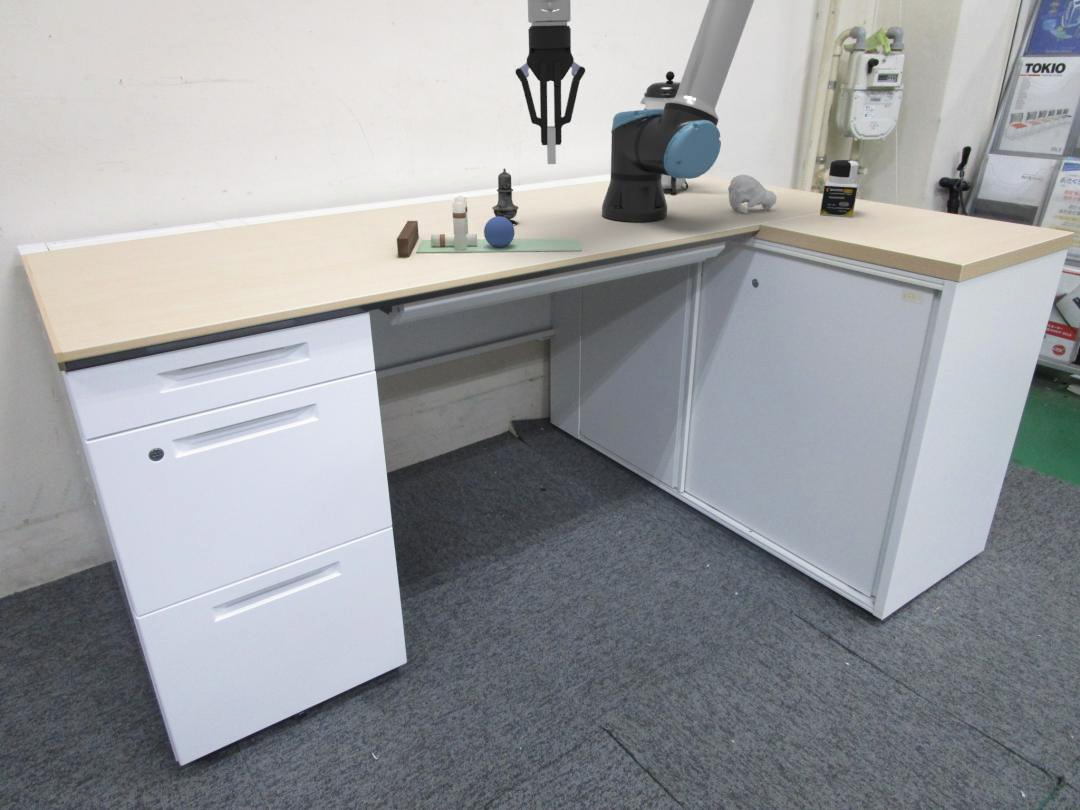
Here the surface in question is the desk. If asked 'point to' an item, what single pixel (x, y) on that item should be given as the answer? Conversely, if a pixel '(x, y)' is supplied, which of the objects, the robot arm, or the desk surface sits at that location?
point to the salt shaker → (505, 198)
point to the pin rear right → (464, 199)
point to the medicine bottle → (840, 189)
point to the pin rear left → (459, 225)
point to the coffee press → (657, 100)
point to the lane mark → (508, 246)
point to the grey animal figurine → (749, 194)
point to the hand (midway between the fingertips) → (551, 162)
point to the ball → (499, 232)
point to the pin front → (451, 240)
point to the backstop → (407, 239)
